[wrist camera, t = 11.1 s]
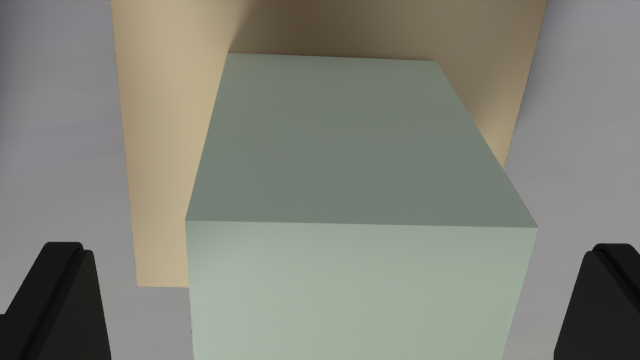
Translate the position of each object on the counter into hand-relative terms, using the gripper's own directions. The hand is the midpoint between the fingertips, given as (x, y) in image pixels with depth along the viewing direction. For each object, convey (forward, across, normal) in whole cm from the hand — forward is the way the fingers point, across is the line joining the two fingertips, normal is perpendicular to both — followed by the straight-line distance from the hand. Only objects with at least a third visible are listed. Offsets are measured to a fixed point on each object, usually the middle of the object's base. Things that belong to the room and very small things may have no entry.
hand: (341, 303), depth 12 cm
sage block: (+5, 0, -1) cm, 5 cm away
